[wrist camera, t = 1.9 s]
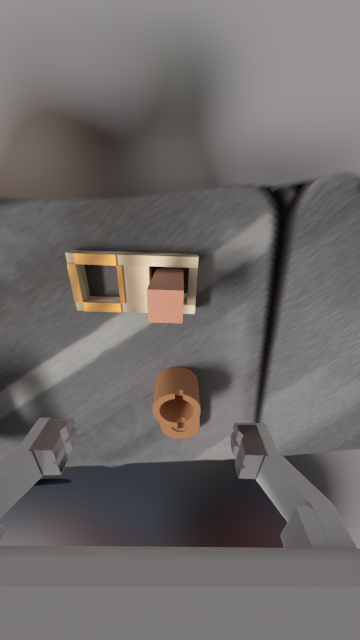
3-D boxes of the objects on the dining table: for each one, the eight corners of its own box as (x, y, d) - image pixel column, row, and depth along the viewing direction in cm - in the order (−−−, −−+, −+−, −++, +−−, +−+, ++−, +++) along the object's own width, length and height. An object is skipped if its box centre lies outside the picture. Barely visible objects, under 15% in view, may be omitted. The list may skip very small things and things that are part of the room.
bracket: (154, 367, 40) (149, 394, 34) (197, 365, 40) (200, 392, 33) (163, 427, 48) (160, 459, 42) (199, 426, 48) (201, 458, 42)
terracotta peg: (183, 269, 31) (183, 290, 22) (182, 294, 33) (182, 323, 24) (156, 268, 31) (146, 289, 22) (157, 293, 33) (148, 322, 24)
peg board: (197, 254, 30) (198, 257, 28) (193, 307, 34) (194, 314, 32) (73, 249, 30) (64, 252, 28) (84, 304, 34) (76, 310, 31)
